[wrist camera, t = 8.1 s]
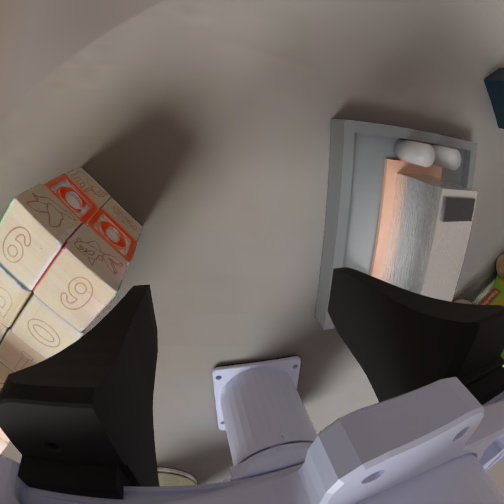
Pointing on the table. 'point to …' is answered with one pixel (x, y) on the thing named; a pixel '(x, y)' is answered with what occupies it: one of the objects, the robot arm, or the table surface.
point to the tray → (376, 191)
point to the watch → (497, 94)
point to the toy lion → (493, 290)
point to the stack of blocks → (58, 267)
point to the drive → (428, 235)
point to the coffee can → (174, 477)
